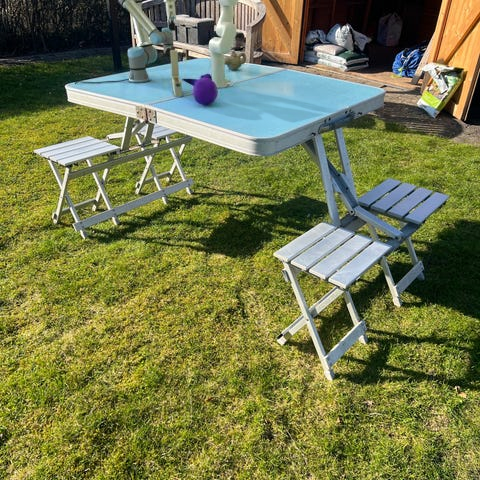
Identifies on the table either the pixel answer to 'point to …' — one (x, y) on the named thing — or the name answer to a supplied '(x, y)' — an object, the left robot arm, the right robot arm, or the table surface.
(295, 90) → the table surface
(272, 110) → the table surface
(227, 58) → the teapot
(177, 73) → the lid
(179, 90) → the cream suitcase
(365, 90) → the table surface
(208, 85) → the toy
